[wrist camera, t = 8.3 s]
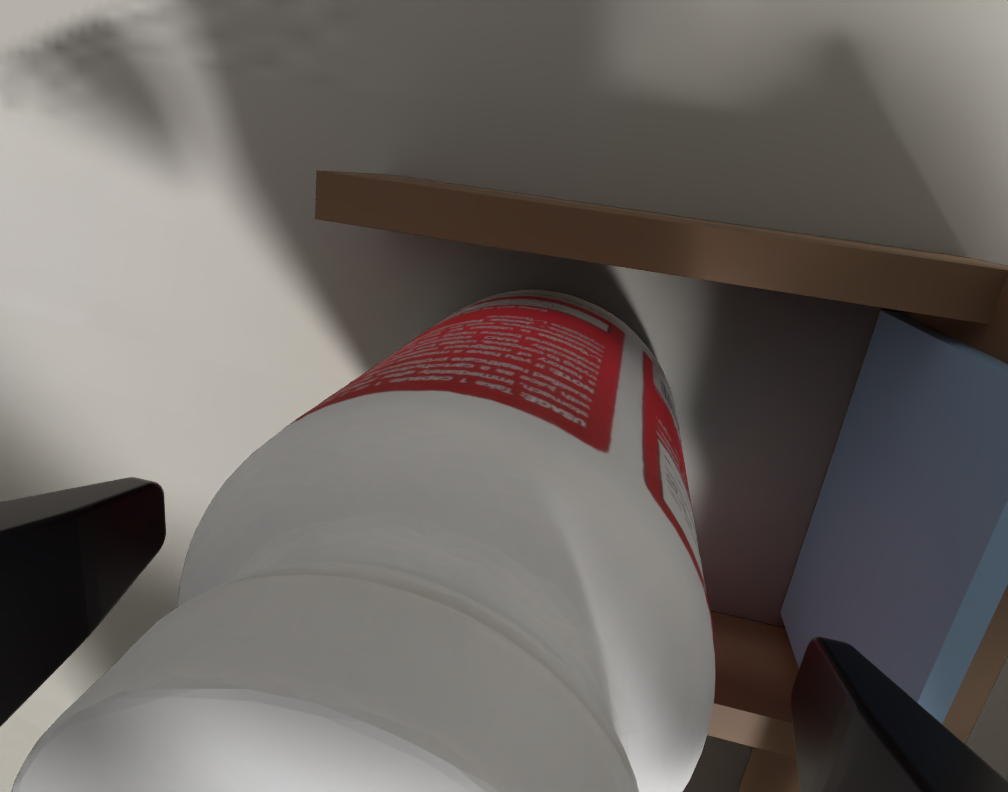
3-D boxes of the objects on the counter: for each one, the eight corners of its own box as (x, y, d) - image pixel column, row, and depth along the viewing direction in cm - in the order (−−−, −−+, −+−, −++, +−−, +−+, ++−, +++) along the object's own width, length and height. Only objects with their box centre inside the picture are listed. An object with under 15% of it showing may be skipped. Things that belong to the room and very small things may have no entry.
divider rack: (727, 912, 18) (763, 1208, 13) (344, 798, 20) (237, 1017, 15) (969, 257, 12) (1226, 312, 7) (383, 174, 14) (223, 165, 8)
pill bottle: (360, 409, 15) (-200, 843, 5) (537, 224, 13) (182, 338, 3) (538, 583, 16) (350, 1302, 6) (737, 432, 14) (1021, 1148, 3)
